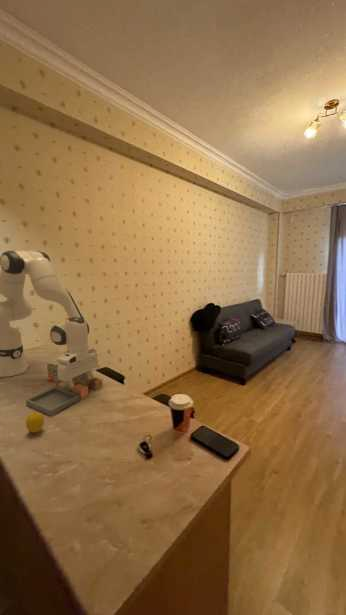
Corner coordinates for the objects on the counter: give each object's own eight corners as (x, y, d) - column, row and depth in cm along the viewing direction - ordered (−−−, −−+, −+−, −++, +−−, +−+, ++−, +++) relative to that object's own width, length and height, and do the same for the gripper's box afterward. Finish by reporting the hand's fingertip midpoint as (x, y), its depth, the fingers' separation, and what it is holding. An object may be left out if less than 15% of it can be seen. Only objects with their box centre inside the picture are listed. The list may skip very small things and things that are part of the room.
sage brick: (58, 391, 125) (58, 383, 124) (69, 386, 130) (69, 379, 129) (64, 394, 123) (63, 385, 122) (75, 388, 128) (74, 381, 127)
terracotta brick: (72, 395, 122) (71, 387, 121) (79, 391, 125) (78, 383, 125) (81, 398, 119) (80, 390, 118) (88, 395, 122) (87, 387, 122)
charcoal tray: (26, 405, 112) (26, 400, 112) (55, 391, 124) (55, 386, 124) (51, 416, 105) (50, 410, 104) (79, 401, 117) (79, 395, 116)
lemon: (48, 429, 97) (46, 409, 95) (35, 439, 92) (33, 417, 90) (36, 426, 98) (34, 406, 97) (23, 435, 93) (21, 414, 92)
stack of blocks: (48, 381, 136) (46, 358, 134) (55, 376, 142) (53, 354, 140) (87, 384, 132) (86, 361, 130) (93, 379, 138) (92, 356, 136)
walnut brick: (87, 387, 130) (87, 379, 129) (93, 384, 133) (93, 376, 132) (96, 390, 127) (95, 382, 126) (102, 387, 130) (102, 379, 129)
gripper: (91, 346, 129) (92, 373, 131) (54, 359, 112) (56, 390, 114) (100, 348, 126) (101, 376, 128) (64, 362, 108) (66, 393, 111)
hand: (80, 383), depth 121 cm, fingers open, 8 cm apart
